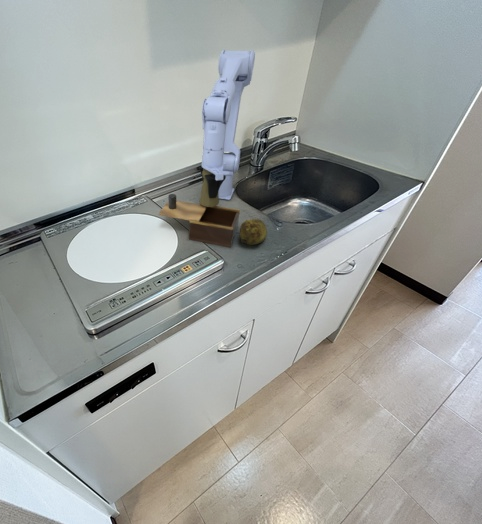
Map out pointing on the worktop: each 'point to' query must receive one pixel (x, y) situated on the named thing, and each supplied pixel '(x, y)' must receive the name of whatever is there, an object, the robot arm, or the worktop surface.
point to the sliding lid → (182, 209)
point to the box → (215, 226)
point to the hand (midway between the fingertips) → (210, 193)
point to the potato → (253, 231)
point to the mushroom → (204, 193)
